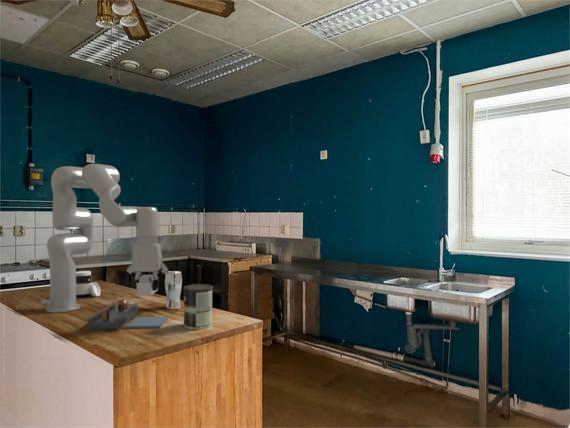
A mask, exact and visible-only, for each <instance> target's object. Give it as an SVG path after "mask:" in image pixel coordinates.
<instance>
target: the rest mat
mask: <svg viewBox="0 0 570 428" xmlns="http://www.w3.org/2000/svg"><path fill="white" fill-rule="evenodd" d="M168 319H169V316H136V317H133V318H132V319H131V321H130V322H129V323H128V322H127V323H126V324H125V326H124V329H126V330H127V329H160V328H161V327H162V326H163V325H164V324H165V323H166V322H167V320H168Z"/></svg>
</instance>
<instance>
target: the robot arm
mask: <svg viewBox="0 0 570 428" xmlns="http://www.w3.org/2000/svg"><path fill="white" fill-rule="evenodd" d="M120 177H121V176H120V172H119V170H118V169H117V167H114V166H113V165H109V164H101V163H89V164H86V165H85V166H84V167H80V166H70V165H69V166H67V165H66V166H59V167H58V168H56V169H55V170H54V171H53V173H52V174H51V179H50V184H51V185H50V186H51V189H52V197H53V198H52V199H53V200H52V216H51V217H52V225H53V227H54V229H55V230H57V231H74V232H64V233H57V234H54V235H51V236H50V237H49V238H48V239H47V241H46V249H47V254H48V258H49V291H50V293H49V299H41V302H40V305H41V306H47V307H46V308H45V311H46V312H47V313H50V314H51V313H52V314H53V313H54V314H55V313H56V314H57V313H59V314H60V313H68V312H72V311H76V310H79V309H81V304H80V303H77V298H76V272H77V266H76V263H75V261H74V260H73V258H72V257H73V256H79V255H80V256H81V255H85V254H88V253H89V252H90V250H91V249H92V246H93V234H94V233H93V232H94V218H93V215H92V212H91V211H90V209H88V208H86V207H77V196H76V193H75V191H74V189H72V188H78V189H91V190H92V191H93V192H94V193H95V195H97V196H98V198H99V200H98V206H99V210H100V211H99V212H100V214H101V215H102V216H103V217H104V218H105V220H106V221H107V222H108V223H109V224H110V225H112V226H114V227H116V228H124V227H125V228H128V227H129V228H130V227H135V233H136V234H135V237H132V239H131V240H132V242H135V244H133V248H132V254H131V256H132V257H131V264H130V265H129V267H127V268H126V272H127V273H129V274H130V275H131V276H132V277H133V278H134V280H135V284H136V285H135V288H136V289H137V282H139V277H140V276H142V275H143V274H142V273H152V275H153V278H154V280H153V290H154V291H156V290H157V288H158V289H159V288H160V287H159V286H160V282H159V281H160V278H161V277H162V276H163V275H164V274H165V273H166V272H169V268H167V266H166V265H165V263H164V262H163V256H162V249H161V245H160V243H159V233H158V232H159V229H158V227H159V226H158V224H159V223H158V222H159V221H158V217H159V216H158V215H159V213H158V208H157V207H154V206H132V205H131V206H128V205H127V206H123V205H121V206H120V205H119V204H118V203H117V202H115V200H116V199H117V198H118V197H119V196H120V193H121V189H122V188H121V186H120V185H119V182H120V180H121V179H120ZM159 271H160V272H159ZM157 291H158V290H157ZM157 291H156V292H157Z"/></svg>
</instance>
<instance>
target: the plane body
mask: <svg viewBox="0 0 570 428" xmlns="http://www.w3.org/2000/svg"><path fill="white" fill-rule="evenodd" d="M117 305H118V306H117ZM117 305H116V303H115V302H114V303H110V304H109V305H107V306H106V307H103V308H101V310H99V311H98V312H96V313H94V314H93V315H91V316H90V317H88V318H87V331H88V332H89V331H90V332H91V331H98V332H99V331H102V332H104V331H105V332H106V331H118V330H120V329H121V328H122V327H123V326H124V325H127V324H128V322H129V321H130V320H133V319H134V318H135V316H136V315H138V314H139V313H138V311H139V310H138V309H139V308H138V305H139V304H138V302H135V303H133V304H131V305H130V306H129V305H128V300H127V299H123V298H121V299H118V300H117Z"/></svg>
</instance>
